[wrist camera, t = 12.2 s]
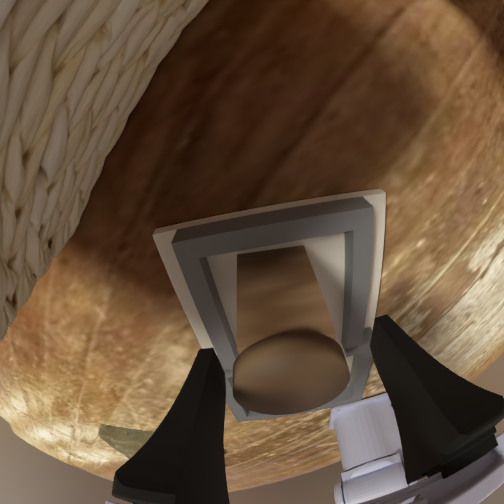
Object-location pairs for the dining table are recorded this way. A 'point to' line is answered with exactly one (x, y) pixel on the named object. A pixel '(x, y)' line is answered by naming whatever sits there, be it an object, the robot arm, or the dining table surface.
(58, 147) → the storage basket
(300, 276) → the walnut peg
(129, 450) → the olive stone flat slab
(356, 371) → the grey flat framed piece
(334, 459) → the dining table surface
